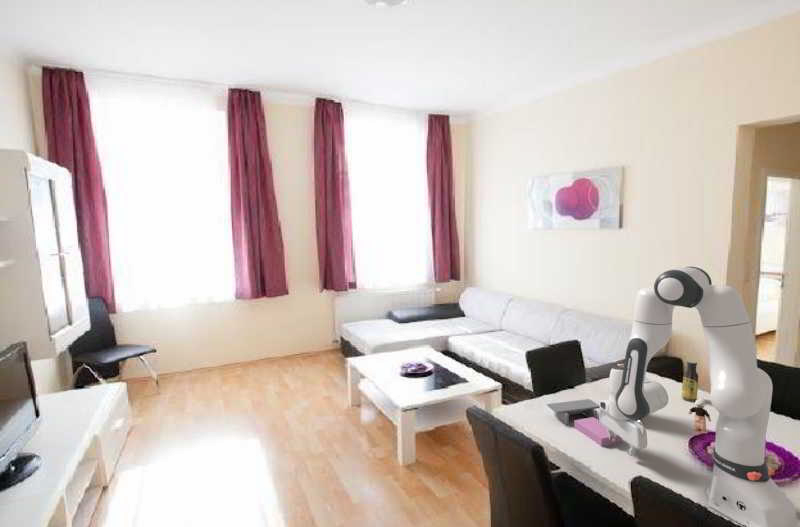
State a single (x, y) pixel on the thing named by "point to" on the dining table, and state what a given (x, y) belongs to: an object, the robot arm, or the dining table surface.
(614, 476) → the dining table surface
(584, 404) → the bridge dock
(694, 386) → the sauce bottle
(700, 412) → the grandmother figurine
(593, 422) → the pink rectangular block
